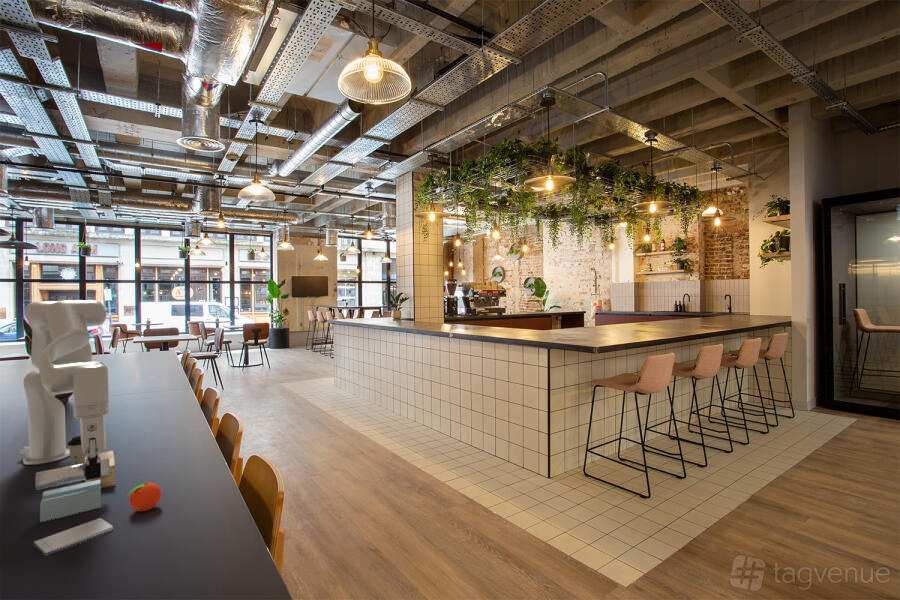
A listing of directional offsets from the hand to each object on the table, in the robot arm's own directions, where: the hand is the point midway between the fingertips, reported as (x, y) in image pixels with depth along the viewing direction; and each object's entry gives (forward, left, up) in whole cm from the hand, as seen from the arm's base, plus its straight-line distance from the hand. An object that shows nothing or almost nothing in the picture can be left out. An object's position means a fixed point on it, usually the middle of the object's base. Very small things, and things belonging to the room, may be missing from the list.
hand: (93, 474), depth 121 cm
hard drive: (+10, -19, -8) cm, 23 cm away
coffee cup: (-23, +25, -8) cm, 35 cm away
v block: (-4, -3, -7) cm, 9 cm away
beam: (-9, +14, -7) cm, 19 cm away
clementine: (+18, -6, -8) cm, 20 cm away
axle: (-3, -2, -1) cm, 4 cm away
